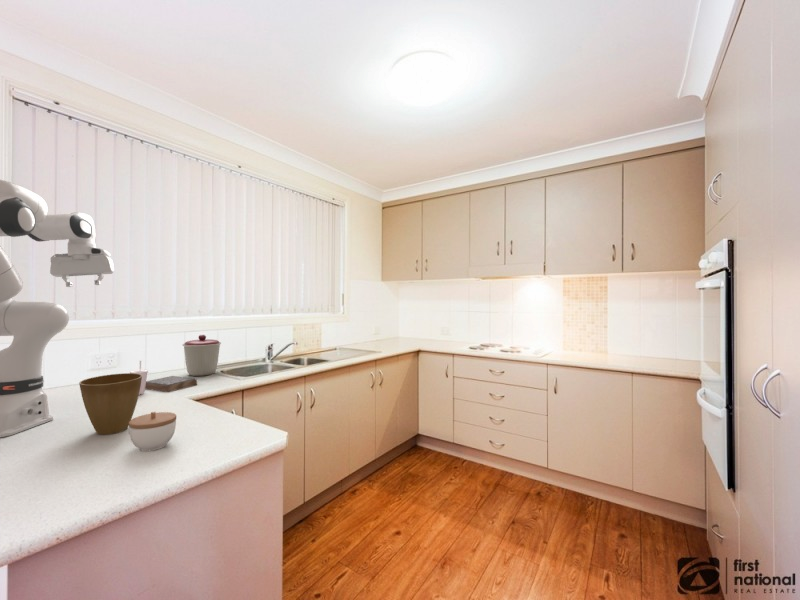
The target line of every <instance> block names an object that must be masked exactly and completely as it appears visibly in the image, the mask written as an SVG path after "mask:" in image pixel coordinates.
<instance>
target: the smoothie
mask: <svg viewBox="0 0 800 600" xmlns="http://www.w3.org/2000/svg"><path fill="white" fill-rule="evenodd" d="M129 373H136V374H141V375H142V380H141V386H140V391H139V396H141V395H140V394H142V395H145V393H146V392H145V391H146V389H145V385H146V381H147V377H148V373H149V370H148V369H142V360H139V369H136V370H131V371H129Z"/></svg>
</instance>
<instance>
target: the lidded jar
mask: <svg viewBox="0 0 800 600" xmlns="http://www.w3.org/2000/svg"><path fill="white" fill-rule="evenodd" d="M176 426H177V414H176V413H174V412H168V411H167V412H166V411H163V412H162V411H161V412H156V411H151V412H150V413H146V414H142V415H139V416H137V417H133V418H132V419H131V420H130V421H129V426H128V428H129V429H128V430H129V433H128V434H129V438H130V441H131V443H132V444H133V445H134V447H136V448H138V450H139V449H140V450H139V451H141V450H143V451H142V452H150V451H149V450H152V451H156V449H157V450H161V449H163V448H164V447H167V444H168V443H169V442H170V441H171V439H172V438H173V436H174V434H175V430H176ZM162 447H163V448H162Z"/></svg>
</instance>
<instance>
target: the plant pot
mask: <svg viewBox="0 0 800 600" xmlns="http://www.w3.org/2000/svg"><path fill="white" fill-rule="evenodd" d="M141 380H142V375H141V374H136V373H130V372H129V373H127V372H126V373H123V372H121V373H114V374H113V373H112V374H104V375H99V376H94V377H90V378H86V379H83V380H81V381H79V383H78V385H79V389H80V393H81V397H82V402H83V406H84V408H85V410H86V411H85V412H86V413H87V416H88V418H89V420H90V423H91V425H92V426H93V429H94V430H95V432H96V434H98V435H100V436H105V435H106V436H108V435H114V434H119V433H122V432H123V431H125V430H127V429H128V428H129V421H130V420H132V419H133V416H134V413H135V410H136V406H137V403H138V399H139V396H140V395H139V391H140V386H141Z"/></svg>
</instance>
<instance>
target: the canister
mask: <svg viewBox="0 0 800 600" xmlns="http://www.w3.org/2000/svg"><path fill="white" fill-rule="evenodd" d="M206 338H207V336H206V335H205V334H199V335H198V339H194V340H193V339H192V340H188V341H185V342H184V343H183V344H182V346H183V353H184V358H185V367H186V371H187V374H188V375H189V376H193V377H203V376H209V375H210V376H211V375H212V374H213V375H214V373H215V372H216V371H217V368H218V364H219V362H218V361H219V357H220V355H219V354H220V346H221V344H222V342H221V341H219V340H217V339H208V338H207V339H206Z"/></svg>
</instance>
